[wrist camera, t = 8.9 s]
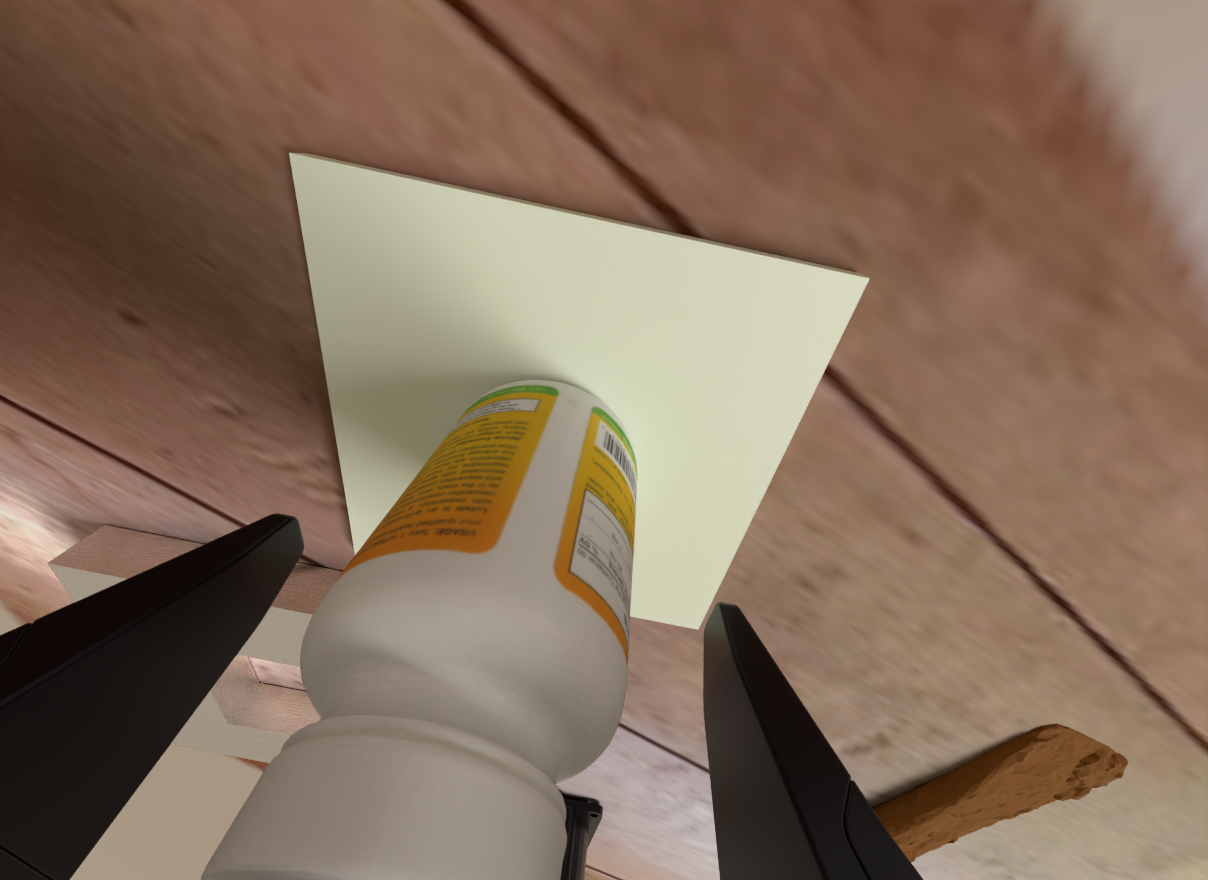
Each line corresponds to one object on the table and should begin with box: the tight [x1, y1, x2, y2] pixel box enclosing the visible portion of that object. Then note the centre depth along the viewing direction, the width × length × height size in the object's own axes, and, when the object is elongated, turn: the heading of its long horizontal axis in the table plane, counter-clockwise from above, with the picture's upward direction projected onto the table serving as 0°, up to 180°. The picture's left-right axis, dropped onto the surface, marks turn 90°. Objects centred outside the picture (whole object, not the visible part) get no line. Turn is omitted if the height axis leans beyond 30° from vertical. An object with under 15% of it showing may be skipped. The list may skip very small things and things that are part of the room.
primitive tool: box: [873, 724, 1128, 862], centre depth 23 cm, size 19×6×4 cm, turn 151°
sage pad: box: [289, 153, 870, 630], centre depth 14 cm, size 13×13×1 cm
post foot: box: [47, 525, 343, 763], centre depth 21 cm, size 14×14×2 cm
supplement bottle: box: [201, 380, 637, 880], centre depth 9 cm, size 5×5×10 cm
